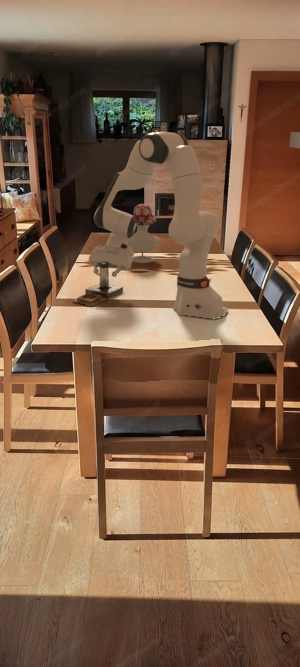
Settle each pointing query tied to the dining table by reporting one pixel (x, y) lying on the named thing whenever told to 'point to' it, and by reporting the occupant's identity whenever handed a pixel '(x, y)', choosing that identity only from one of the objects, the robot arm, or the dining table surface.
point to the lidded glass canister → (104, 275)
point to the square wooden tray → (89, 299)
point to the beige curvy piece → (143, 234)
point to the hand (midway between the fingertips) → (104, 274)
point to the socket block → (105, 291)
